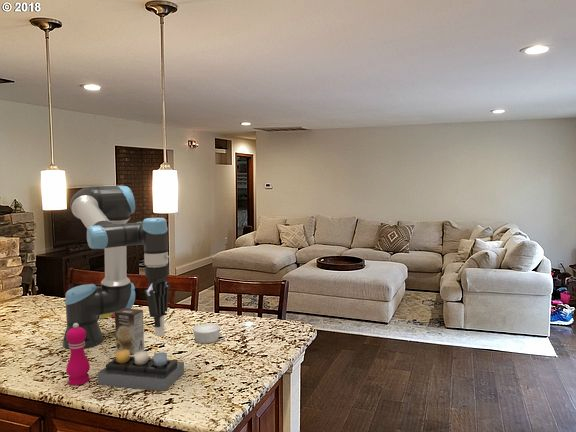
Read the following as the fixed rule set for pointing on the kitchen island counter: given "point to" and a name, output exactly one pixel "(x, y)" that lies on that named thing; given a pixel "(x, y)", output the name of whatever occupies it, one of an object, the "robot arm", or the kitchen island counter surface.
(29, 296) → the kitchen island counter surface
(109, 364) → the button console
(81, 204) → the robot arm
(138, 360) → the cream rounded cylinder
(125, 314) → the coffee box
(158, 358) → the blue button
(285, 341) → the kitchen island counter surface
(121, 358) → the amber button
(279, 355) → the kitchen island counter surface
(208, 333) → the ramekin
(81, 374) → the pepper mill
